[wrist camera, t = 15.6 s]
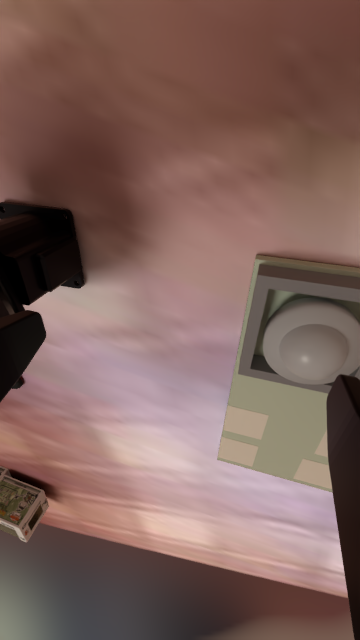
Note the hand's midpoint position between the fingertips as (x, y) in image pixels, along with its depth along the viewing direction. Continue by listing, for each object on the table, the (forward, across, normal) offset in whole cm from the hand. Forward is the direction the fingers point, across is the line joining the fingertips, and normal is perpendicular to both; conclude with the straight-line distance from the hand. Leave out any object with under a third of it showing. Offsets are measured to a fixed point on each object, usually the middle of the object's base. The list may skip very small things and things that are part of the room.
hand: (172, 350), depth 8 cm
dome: (+12, -6, +6) cm, 15 cm away
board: (+13, -9, +14) cm, 21 cm away
